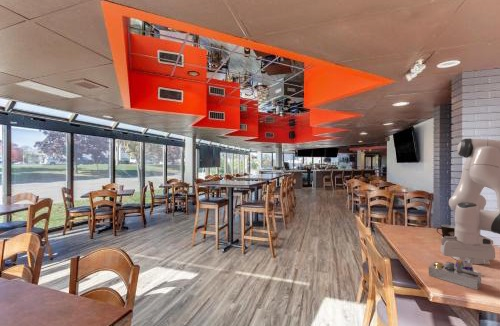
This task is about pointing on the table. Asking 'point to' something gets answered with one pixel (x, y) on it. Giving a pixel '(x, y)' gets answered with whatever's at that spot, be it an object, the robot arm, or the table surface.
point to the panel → (456, 276)
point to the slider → (459, 265)
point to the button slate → (450, 266)
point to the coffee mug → (447, 230)
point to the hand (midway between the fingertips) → (466, 266)
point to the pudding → (466, 267)
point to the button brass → (438, 264)
